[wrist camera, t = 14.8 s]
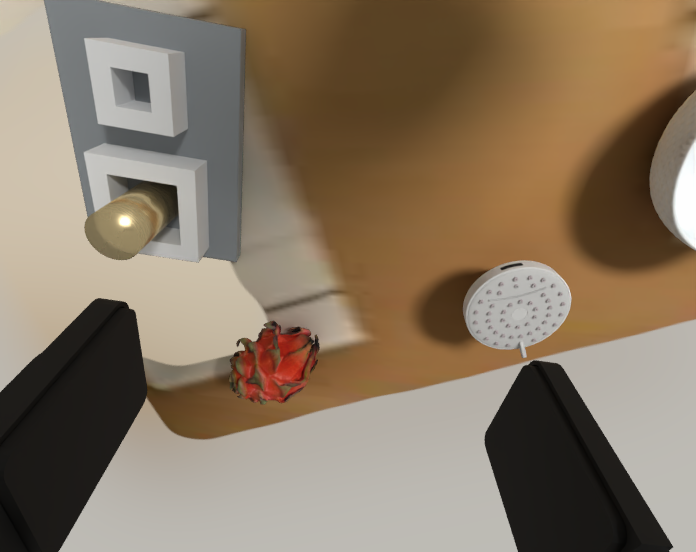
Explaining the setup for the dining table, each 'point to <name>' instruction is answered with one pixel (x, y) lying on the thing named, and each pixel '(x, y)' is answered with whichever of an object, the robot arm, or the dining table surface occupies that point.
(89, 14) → the socket board
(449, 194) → the dining table surface
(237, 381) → the dragon fruit
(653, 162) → the cereal bowl
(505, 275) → the showerhead
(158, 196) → the gold rounded cylinder
